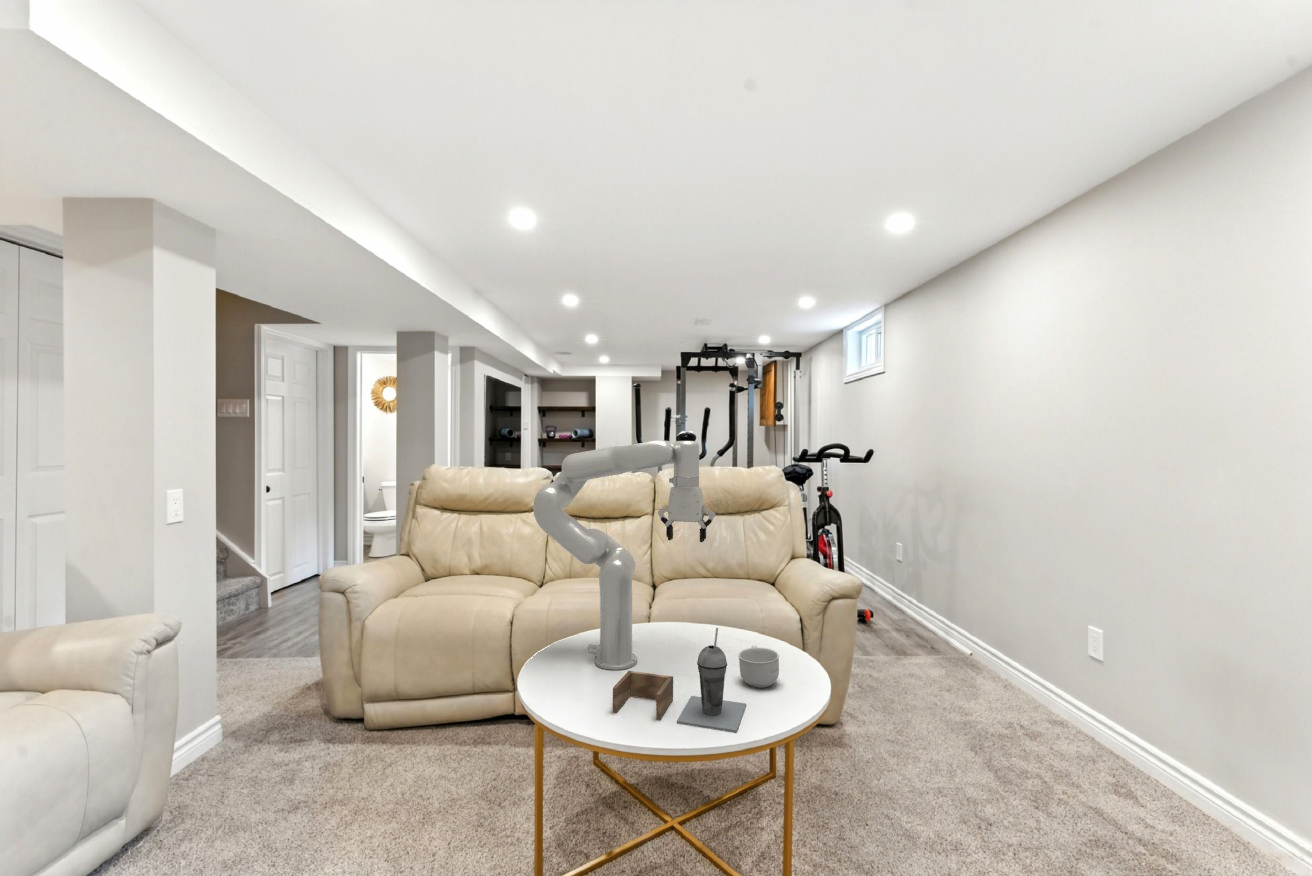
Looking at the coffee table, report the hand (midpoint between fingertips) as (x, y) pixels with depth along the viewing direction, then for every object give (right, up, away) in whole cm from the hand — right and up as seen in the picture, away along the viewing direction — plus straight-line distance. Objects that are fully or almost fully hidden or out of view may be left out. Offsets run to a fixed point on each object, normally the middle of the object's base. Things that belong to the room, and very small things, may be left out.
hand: (686, 540), depth 168 cm
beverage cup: (+5, -36, -31) cm, 48 cm away
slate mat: (+5, -36, -31) cm, 48 cm away
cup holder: (-12, -36, -28) cm, 47 cm away
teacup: (+19, -37, -12) cm, 43 cm away
